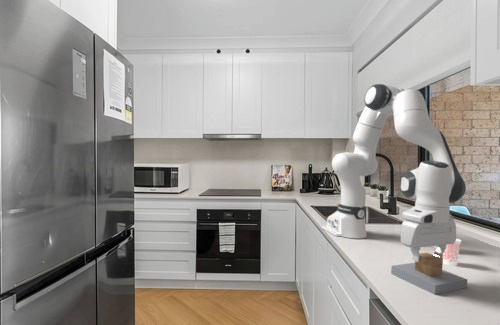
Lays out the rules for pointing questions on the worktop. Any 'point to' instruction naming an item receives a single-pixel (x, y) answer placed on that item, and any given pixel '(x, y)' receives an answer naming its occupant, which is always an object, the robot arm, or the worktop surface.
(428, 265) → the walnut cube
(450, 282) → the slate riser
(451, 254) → the beverage cup
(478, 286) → the worktop surface
